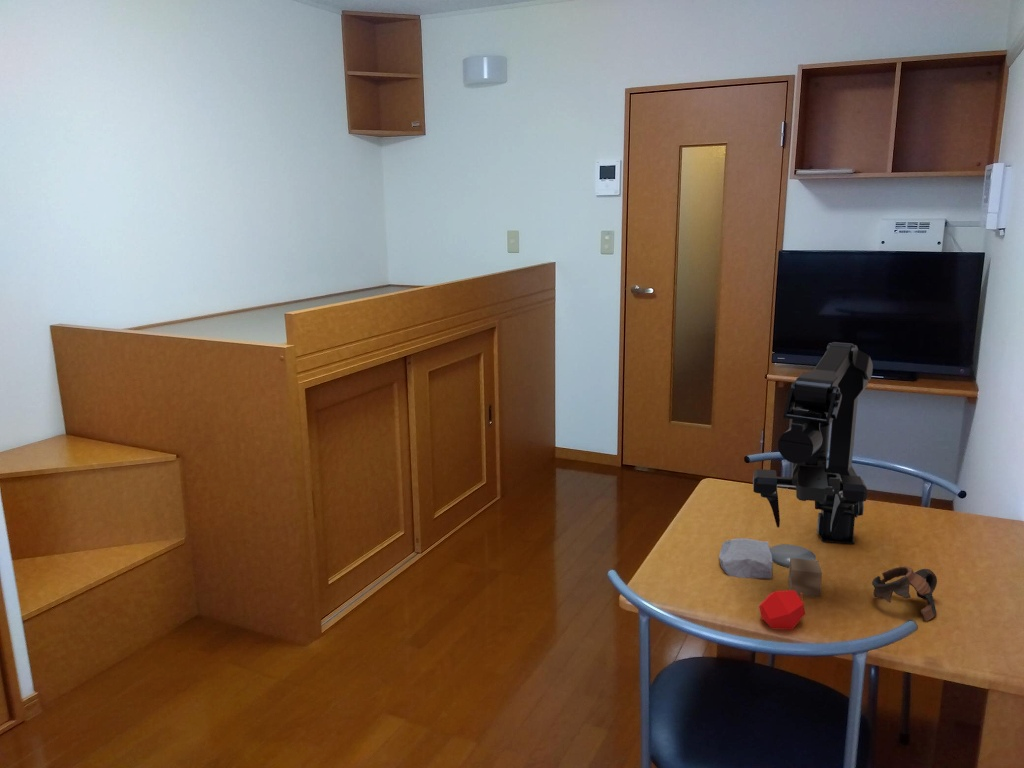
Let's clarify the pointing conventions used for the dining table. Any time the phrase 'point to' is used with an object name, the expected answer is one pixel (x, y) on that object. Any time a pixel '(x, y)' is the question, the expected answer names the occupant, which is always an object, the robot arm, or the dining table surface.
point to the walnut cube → (805, 577)
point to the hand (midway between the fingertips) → (804, 529)
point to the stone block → (746, 558)
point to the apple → (782, 609)
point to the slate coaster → (790, 554)
